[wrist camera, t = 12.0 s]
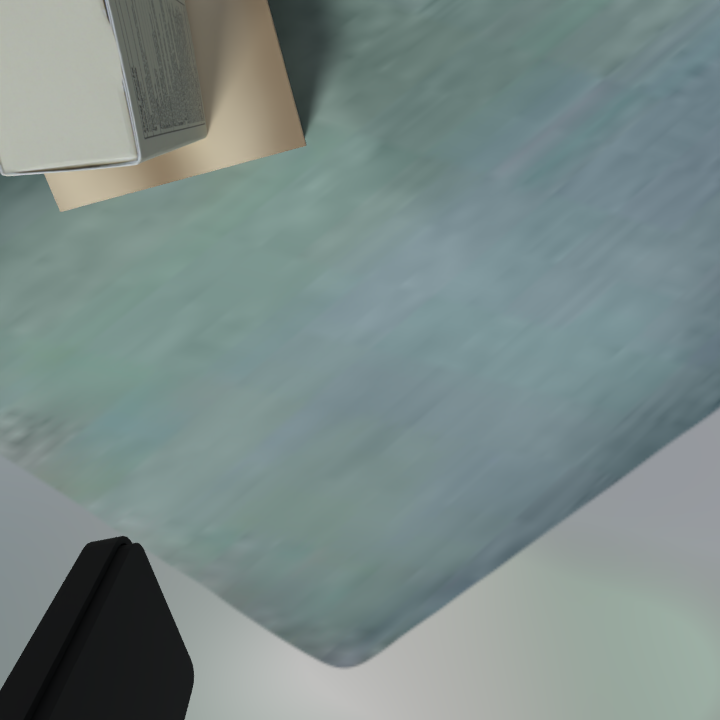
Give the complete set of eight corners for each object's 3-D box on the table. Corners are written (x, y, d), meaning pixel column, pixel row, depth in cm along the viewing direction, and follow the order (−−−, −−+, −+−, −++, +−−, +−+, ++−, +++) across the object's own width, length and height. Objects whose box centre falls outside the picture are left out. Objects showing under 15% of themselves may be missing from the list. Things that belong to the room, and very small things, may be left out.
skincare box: (87, 0, 27) (-86, -76, 16) (189, -10, 27) (88, -92, 16) (121, 152, 30) (-9, 179, 18) (214, 143, 30) (143, 165, 18)
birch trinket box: (257, -55, 31) (244, -83, 26) (309, 140, 34) (305, 145, 30) (21, 13, 32) (-32, -3, 27) (96, 198, 35) (60, 211, 30)
